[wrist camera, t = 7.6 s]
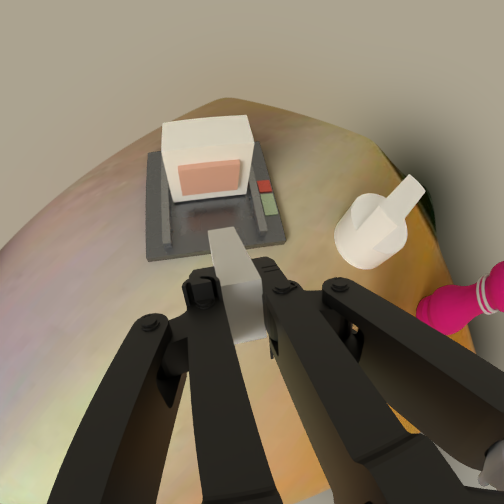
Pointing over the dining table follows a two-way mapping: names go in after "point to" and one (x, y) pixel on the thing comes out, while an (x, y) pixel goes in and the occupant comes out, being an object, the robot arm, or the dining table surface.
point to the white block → (207, 156)
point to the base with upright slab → (376, 225)
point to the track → (209, 214)
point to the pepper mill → (463, 302)
